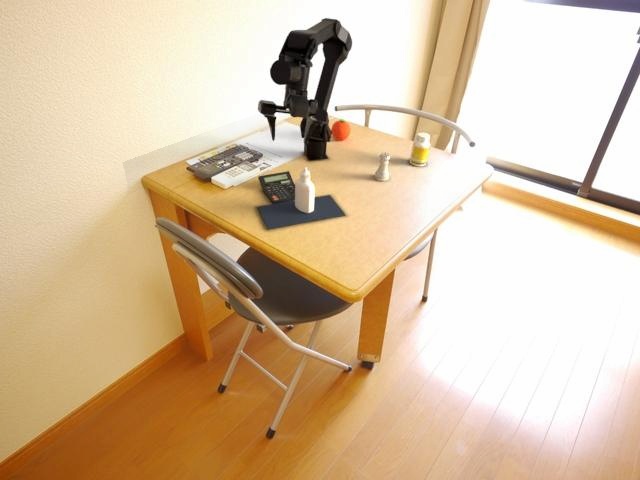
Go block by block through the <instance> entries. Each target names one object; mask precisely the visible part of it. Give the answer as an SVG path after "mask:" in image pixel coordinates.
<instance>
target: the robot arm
mask: <svg viewBox="0 0 640 480" xmlns="http://www.w3.org/2000/svg"><path fill="white" fill-rule="evenodd" d="M321 44H322V54H323V57H324V62H323V65H322V69H321V73H320V76H319V80H318V84H317V87H316V91H315V95H314V99H313V98H310V99H308V95H309V90H308V86H309V79H310V72H311V68H313V67H314V66H313V65H314V64H313V62H312V61H311V60H313V58H314V56H315V55H316V54H317V53H318V51H319V49H318V48H319V46H320V45H321ZM352 48H353V38H352V36H351V33H350V31H348V30H347V28H345V27H344V26H343V25H342V23H341V20H339V19H336V18H329V17H325V18H322V19H321V20H320V21H319V22H317V23H315V24H314V25H312V26H311V27H309V28H307V29H293V30H290V31H289V32H288V35H287V36H286V38H285V40H284V42H283V45H282V47H281V49H280V51H279V54H278V59H277V60H274V62H273V63H272V64H271V66H270V68H269V74H270V75H269V76H270V78H271V80H272V82H273V83H274V84H277V85H278V86H285V87H284V100H283V101H282V104H283V105H280V104H279V105H278V104H276V102H275V101H271V100H266V99H265V100H264V99H260V100H259V101H258V104H257V111H258V112H259V113H260V114H261V115H262V116H263V117H264V118H266V120H267V123H268V127H269V131H270V136H271V140H272V141H273V142H275V141H276V140H275V139H276V122H277V116H276V113H279V114H280V113H281V114H287V115H290V117H292V118H302V119H301V121H300V124H299V130H300V137H301V138H302V139H303V155H304V156H305V157H306V158H307V160H308V161H310V162H313V161H320V160H321V161H322V160H327V159H329V156H328V155H327V145H328V143H330V142H331V139H332V137H333V135H332V131H331V129H332V128H331V127H330V125H329V124H330V118H329V112H328V108H329V104H330V100H331V98H332V94H333V90H334V87H335V84H336V79H337V76H338V72H339V69H340V66H341V65H342V64H343V63H344V62H345V61H346V60H347V59H348V56H349V53H350V52H351V50H352Z"/></svg>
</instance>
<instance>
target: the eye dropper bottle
mask: <svg viewBox="0 0 640 480" xmlns="http://www.w3.org/2000/svg"><path fill="white" fill-rule="evenodd" d="M294 184H295V200H294V201H295V206H296V208H297V209H298V210H300V211H302V212H304V213H310V212H312V211H314V197H315V196H316V195H315V194H316V188H315V185H314V183H313V182H312V181H311V172H310V170H308V167H307V166H304V167H303V170H302V171H300V177H299V178H298V179H296V180H295V182H294Z"/></svg>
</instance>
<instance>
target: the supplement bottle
mask: <svg viewBox="0 0 640 480" xmlns="http://www.w3.org/2000/svg"><path fill="white" fill-rule="evenodd" d="M430 138H431V135H430V134H429V133H427V132H418V133H417V135H416V139H414V140H413V142H412V147H411V154H410V157H409V163H410V164H411V165H412V166H416V167H424V166H426V164H427V160H428V157H429V152H430V147H431V143H430Z"/></svg>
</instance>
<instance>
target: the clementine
mask: <svg viewBox="0 0 640 480" xmlns="http://www.w3.org/2000/svg"><path fill="white" fill-rule="evenodd" d="M330 129H331V131H332V137H333V138H334V139H335V140H337V141H344V140H346V139H348V138H349V136H350V135H351V126H350V124H349V122H347V121H346V120H345V119H339V120H336V121H335V122H333V124H332V125H331V128H330Z"/></svg>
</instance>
